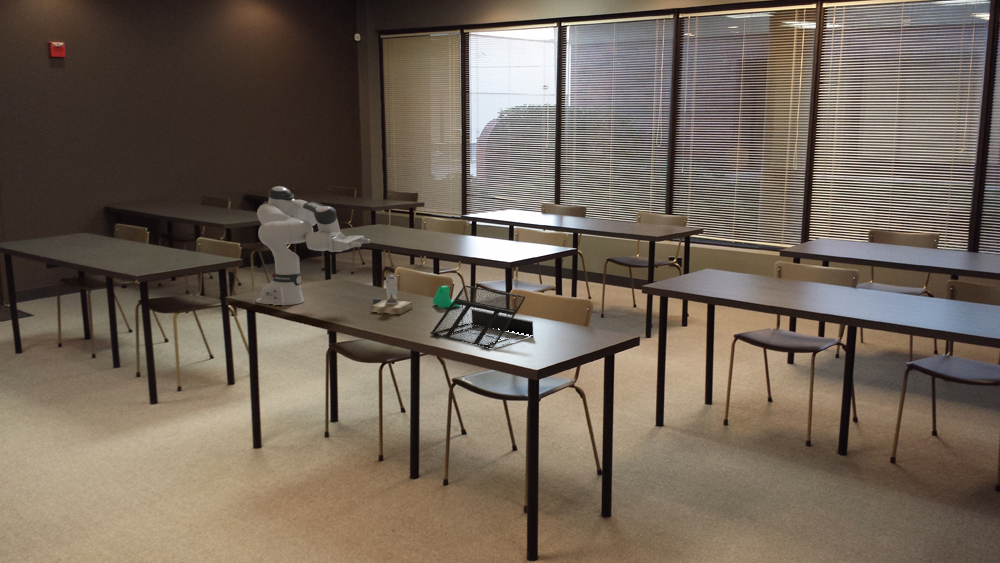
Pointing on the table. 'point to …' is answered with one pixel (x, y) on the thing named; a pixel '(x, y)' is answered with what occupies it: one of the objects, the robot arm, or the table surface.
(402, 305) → the wooden stand
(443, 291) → the green toy figure
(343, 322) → the table surface
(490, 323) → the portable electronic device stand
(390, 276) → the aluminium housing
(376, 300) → the rubber grommet
